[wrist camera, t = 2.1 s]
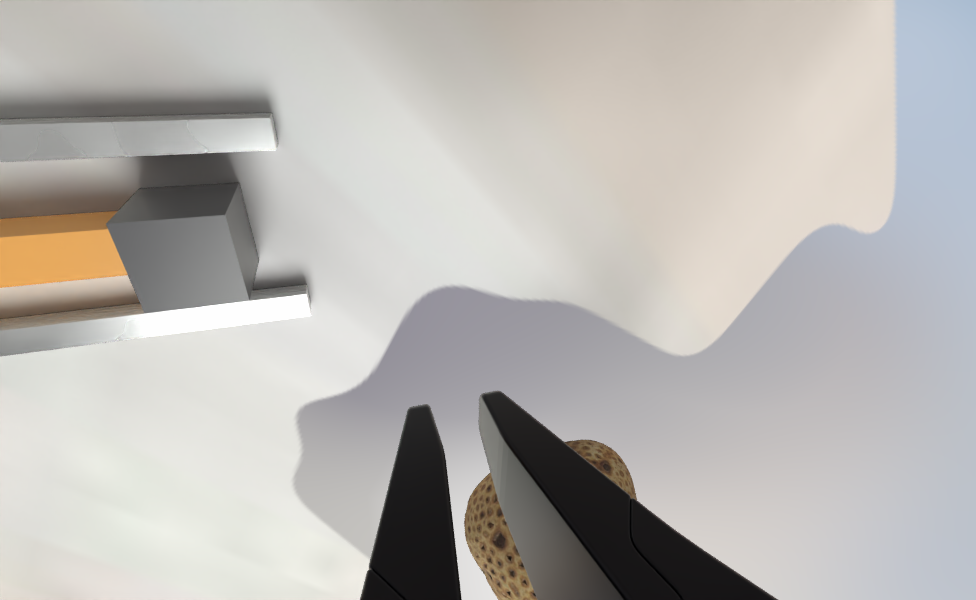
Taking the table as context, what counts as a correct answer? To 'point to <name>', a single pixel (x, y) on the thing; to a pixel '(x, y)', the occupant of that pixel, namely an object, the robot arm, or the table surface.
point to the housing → (125, 140)
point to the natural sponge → (494, 537)
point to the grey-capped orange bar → (143, 247)
